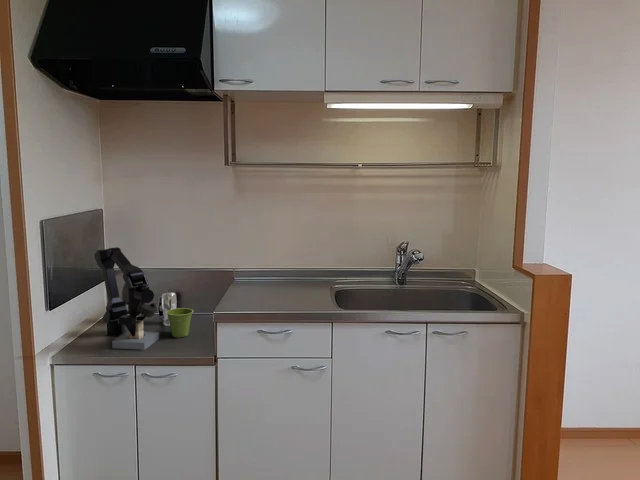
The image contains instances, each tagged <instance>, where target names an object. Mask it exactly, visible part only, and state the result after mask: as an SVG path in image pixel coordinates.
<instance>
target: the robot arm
mask: <svg viewBox="0 0 640 480" xmlns="http://www.w3.org/2000/svg"><path fill="white" fill-rule="evenodd" d="M94 260H95V262H96V265H97V266H98V267H99V268H100V269H101V270H102V276H103V280H104V286H105V290H106V295H107V300H108V301H107V303H106V306H105V313H104V315H103V316H102V320H103V321H102V322H103V323H105V324H106V333H105V336H107V337H120V336H121V335H123V334H124V333H126V330H125V327H126V328H127V329H128V330H127V331H129V332H130V333H131V335H132V336H135V331H136V324H137V323H138V322H139V321H143V322H144V320H145V319H146V318H152V317H153V316H155V313H156V312H157V311H158V308H157V303H155V302H153V300H154V297H155V294H154V291H153V290H151V289H150V286H149V280H148V279H147V277H146V274H145V272H144V271H143V269H141V268H140V267H138V266H136V265H133V263H132V262H131V261H130V260H129V259H128V258H127V257H126V256H125V254H124V253H123V251H122V249H121V248H120V247H118V246H116V247H110V248H104V249H97V250H96V252H95V253H94ZM130 262H131V263H132V264H131V263H130ZM115 265H116V266H117V267H118V268H119V270H120V271H121V273H122V279H123V280H124V283H125V282H126V284H127V285H126V286H125V287H126V288H127V292H128V302H125V301H122V298H121V297H120V291H119V286H118V281H117V277H116V272H115ZM135 283H136V284H135ZM151 302H152V303H151ZM126 305H128V311H127V308H126ZM127 314H129V315H127ZM137 320H139V321H137ZM124 324H125V325H124Z"/></svg>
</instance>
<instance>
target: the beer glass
mask: <svg viewBox="0 0 640 480" xmlns="http://www.w3.org/2000/svg"><path fill="white" fill-rule="evenodd" d="M177 299H178V298H177V293H176V292H172V291H171V292H164V293H162V294H161V309H162V313H163V322H162V325H163V326H166V327H167V326H168V327H169V326H170V322H169V318H168V314H167V313H166V312H167V311H168V310H171V309H176V308H177V306H178V305H177V303H178V302H177Z"/></svg>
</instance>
